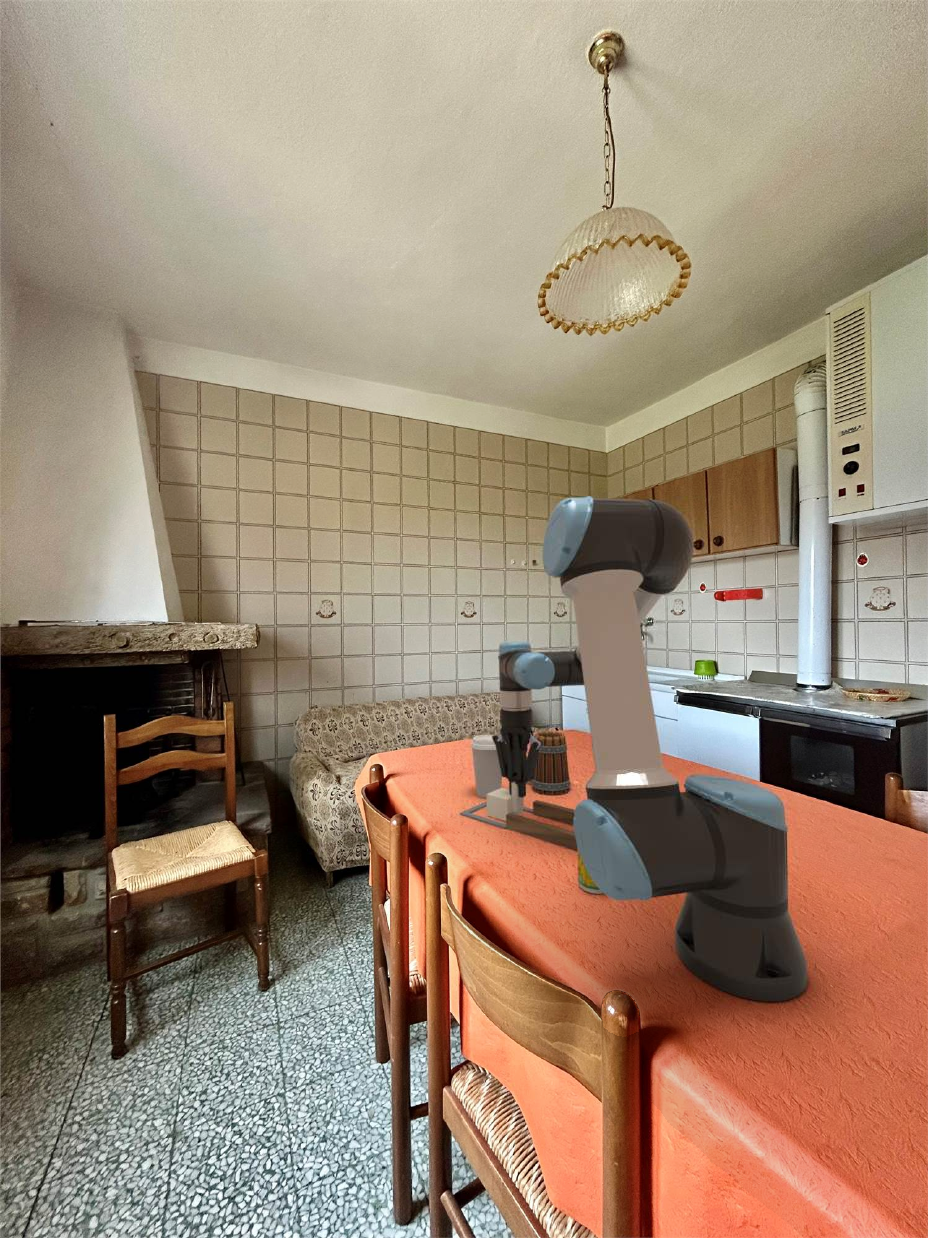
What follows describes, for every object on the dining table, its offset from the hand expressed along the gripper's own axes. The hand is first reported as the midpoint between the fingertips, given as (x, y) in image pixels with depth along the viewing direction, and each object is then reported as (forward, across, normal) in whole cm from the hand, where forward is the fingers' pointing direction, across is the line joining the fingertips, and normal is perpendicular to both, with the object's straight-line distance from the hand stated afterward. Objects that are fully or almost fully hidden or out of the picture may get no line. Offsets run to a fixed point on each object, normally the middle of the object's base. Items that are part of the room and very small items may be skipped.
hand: (518, 810), depth 114 cm
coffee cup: (+2, +16, -9) cm, 18 cm away
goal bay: (+2, +5, 0) cm, 5 cm away
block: (+2, +4, 0) cm, 4 cm away
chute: (+2, -12, 0) cm, 12 cm away
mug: (+2, +8, -23) cm, 24 cm away
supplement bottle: (+2, -27, +16) cm, 32 cm away
